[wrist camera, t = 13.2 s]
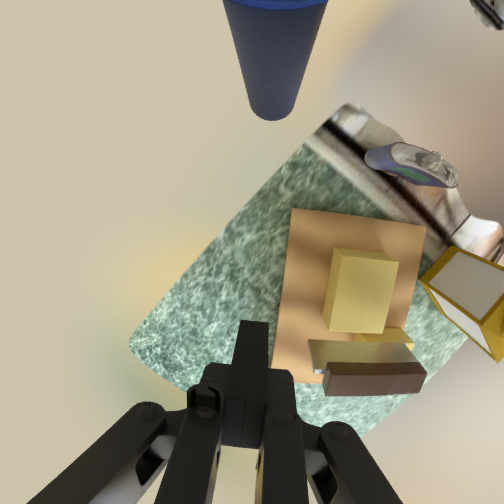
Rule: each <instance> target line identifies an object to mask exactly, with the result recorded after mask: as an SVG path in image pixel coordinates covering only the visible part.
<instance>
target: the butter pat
mask: <svg viewBox="0 0 504 504" xmlns="http://www.w3.org/2000/svg"><path fill="white" fill-rule="evenodd" d="M354 341H355V342H397V343H405V345H406V346H407V347H408V349H409V350H410V351H412V348H413V345H414V342H413V341H412V340H411V339H410V337H409V336H408V335H407V334H406V333H405V331H404V330H403V329H402V328H384V329H383V333H382V334H381V333H355V337H354Z"/></svg>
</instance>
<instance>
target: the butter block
mask: <svg viewBox="0 0 504 504" xmlns="http://www.w3.org/2000/svg"><path fill="white" fill-rule="evenodd" d="M398 265H399V261H397V260H396V259H394V258H392V257H391V256H389V255H388V254H386V253H382V252H373V251H365V250H356V249H347V248H338V247H334V248H333V255H332V261H331V267H330V274H329V280H328V285H327V291H326V297H325V302H324V308H323V313H322V316H323V319H324V322H325V324H326V327H327V329H328V331H336V332H355V333H381V334H382V333H383V329H384V325H385V322H386V318H387V314H388V310H389V306H390V302H391V298H392V293H393V289H394V285H395V280H396V275H397V270H398Z"/></svg>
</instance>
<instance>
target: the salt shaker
mask: <svg viewBox="0 0 504 504" xmlns="http://www.w3.org/2000/svg"><path fill="white" fill-rule="evenodd" d="M494 9H495V11H496V12H497V14H498V15H499V16H500V17H501V18H502V19H504V0H495V2H494Z"/></svg>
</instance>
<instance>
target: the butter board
mask: <svg viewBox="0 0 504 504" xmlns="http://www.w3.org/2000/svg"><path fill="white" fill-rule="evenodd" d="M425 234H426V227H424V226H421V225H415V224H409V223H403V222H396V221H390V220H383V219H377V218H370V217H363V216H356V215H349V214H341V213H333V212H326V211H318V210H309V209H301V208H291V216H290V225H289V234H288V242H287V251H286V259H285V267H284V275H283V283H282V290H281V298H280V305H279V312H278V319H277V327H276V333H275V340H274V347H273V354H272V360H271V367H270V368H275V369H287V370H289V371H290V373H291V374H292V375H293V379H294V382H296V383H316V384H322V380H323V377H324V374H314V373H313V368H312V364H311V359H310V354H309V350H308V345H307V341H308V339H316V340H333V341H354V337H355V332H336V331H328V329H327V327H326V324H325V322H324V319H323V316H322V313H323V308H324V302H325V297H326V291H327V285H328V280H329V274H330V267H331V261H332V255H333V248H334V247H338V248H347V249H356V250H365V251H373V252H382V253H386V254H388V255H389V256H391V257H392V258H394V259H396V260H397V261H399V265H398V270H397V275H396V280H395V285H394V289H393V293H392V298H391V302H390V306H389V310H388V314H387V318H386V322H385V325H384V328H402V329H403V330H404V326H405V323H406V319H407V316H408V312H409V308H410V305H411V301H412V297H413V293H414V288H415V284H416V280H417V275H418V271H419V266H420V261H421V256H422V251H423V245H424V240H425Z"/></svg>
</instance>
